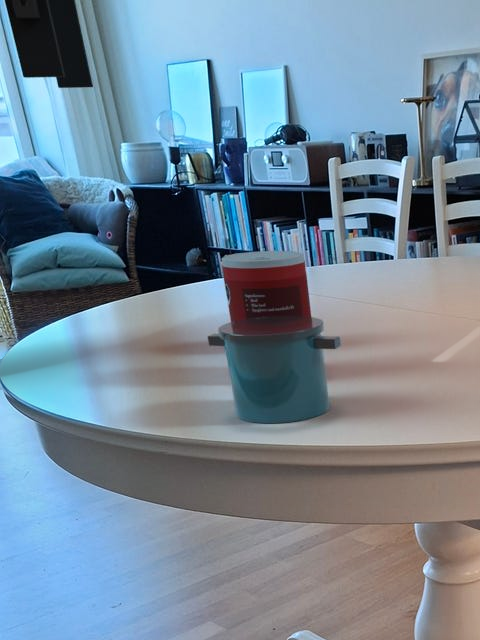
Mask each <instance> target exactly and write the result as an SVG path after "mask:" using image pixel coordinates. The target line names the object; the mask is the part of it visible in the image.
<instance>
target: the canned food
mask: <svg viewBox="0 0 480 640" xmlns="http://www.w3.org/2000/svg"><path fill="white" fill-rule="evenodd" d="M221 269H222V277H223V282H224V288H225V295H226V300H227V305H228V306H227V307H228V313H229V318H230V322H234V321H238V320H244V319H250V318H258V317H269V316H307V317H312V310H311V302H310V293H309V285H308V274H307V268H306V261H305V258H304V253H301V252H299V251H292V250H264V251H263V250H262V251H249V252H240V253H232V254H228V255H227V254H226V255H225V256H223V257H221Z"/></svg>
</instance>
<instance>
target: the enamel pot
mask: <svg viewBox="0 0 480 640" xmlns="http://www.w3.org/2000/svg"><path fill="white" fill-rule="evenodd" d="M324 330H325V323H324V320H323V319H320V318H318V317H313V316H311V317H307V316H269V317H258V318H250V319H244V320H238V321H234V322H231V321H230V322H227V323H225V324H222V325H220V326H219V327H218V329H217V332H218V333H212V334H210V335H207V341H208V346H209V347H224V350H225V351H224V352H225V357H226V362H227V363H226V364H227V369H228V374H229V380H230V386H231V393H232V399H233V403H234V409H235V415H236V417H237V418H238V419H240V420H241V421H246V422H249V423H257V424H282V423H283V424H284V423H292V422H293V423H294V422H300V421H305V420H309V419H312V418H313V419H314V418H316V417H319V416H321V415H323V414H324V413H325V414H326V412H328V411H329V409H330V408H331V407H330V398H329V390H328V379H327V374H326V363H325V354H324V350H336V349H339V348H340V347H341V346H342V345H341V337H340V336H339V335H338V336H335V335H322V333H323V332H324Z"/></svg>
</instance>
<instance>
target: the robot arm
mask: <svg viewBox="0 0 480 640" xmlns="http://www.w3.org/2000/svg"><path fill="white" fill-rule="evenodd" d="M4 4H5V8H6V11H7V17H8V20H9V21H8V22H9V24H10V28H11V32H12V36H13V42H14V44H15V45H14V46H15V49H16V54H17V57H18V62H19V65H20V69H21V70H20V71H21V74H22V77H23V78H26V79H29V78H32V79H33V78H34V79H35V78H55V79H56V83H57V88H59V89H73V88H74V89H77V88H82V89H83V88H94V85H93V84H94V83H93V79H92V74H91V70H90V65H89V60H88V56H87V51H86V47H85V42H84V37H83V32H82V28H81V24H80V23H81V22H80V18H79V13H78V9H77V4H76V0H4Z"/></svg>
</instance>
